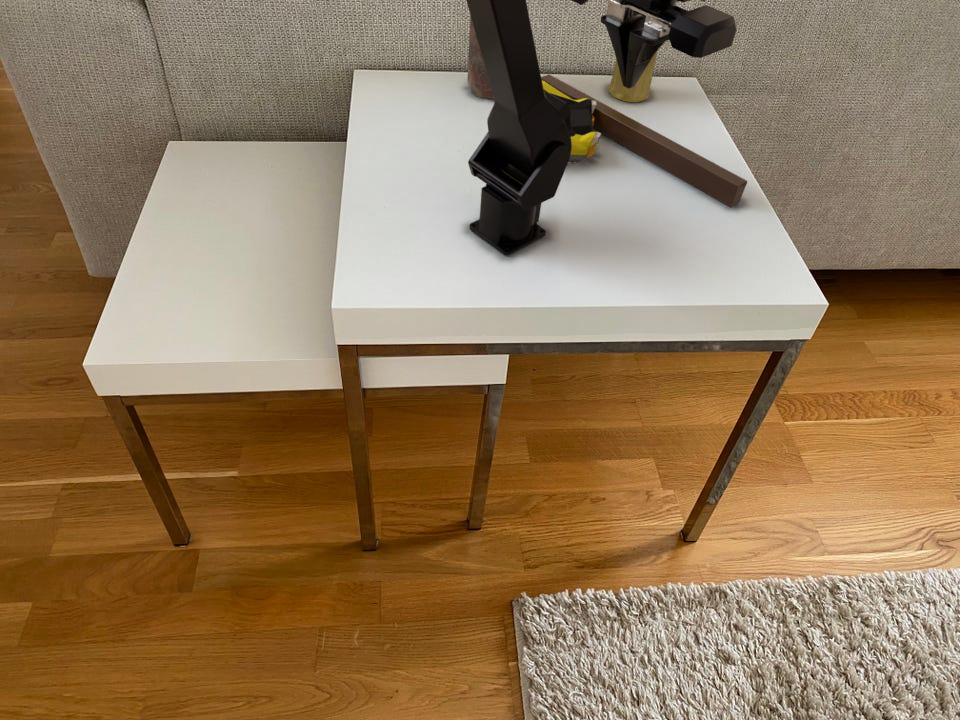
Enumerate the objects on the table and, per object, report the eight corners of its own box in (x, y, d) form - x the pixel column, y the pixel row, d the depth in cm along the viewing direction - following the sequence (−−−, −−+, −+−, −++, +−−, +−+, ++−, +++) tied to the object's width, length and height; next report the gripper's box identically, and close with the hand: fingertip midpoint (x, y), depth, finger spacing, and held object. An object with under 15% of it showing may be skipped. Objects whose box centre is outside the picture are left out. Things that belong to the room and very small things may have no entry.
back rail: (730, 207, 86) (738, 186, 84) (536, 97, 103) (539, 77, 101) (739, 201, 87) (747, 181, 85) (546, 93, 104) (549, 74, 102)
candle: (464, 75, 106) (470, -74, 91) (512, 76, 107) (526, -73, 92) (469, 100, 101) (476, -54, 86) (519, 100, 102) (535, -53, 87)
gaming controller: (519, 169, 90) (597, 175, 90) (524, 129, 85) (606, 135, 86) (519, 111, 100) (589, 116, 100) (523, 73, 96) (596, 78, 96)
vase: (625, 79, 108) (647, -20, 98) (657, 95, 106) (683, -6, 95) (599, 90, 105) (619, -11, 95) (631, 107, 103) (655, 4, 92)
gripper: (793, -55, 67) (739, 100, 78) (643, -106, 76) (614, 40, 88) (724, -35, 62) (676, 129, 73) (572, -92, 71) (551, 62, 82)
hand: (628, 86), depth 79 cm, fingers closed
